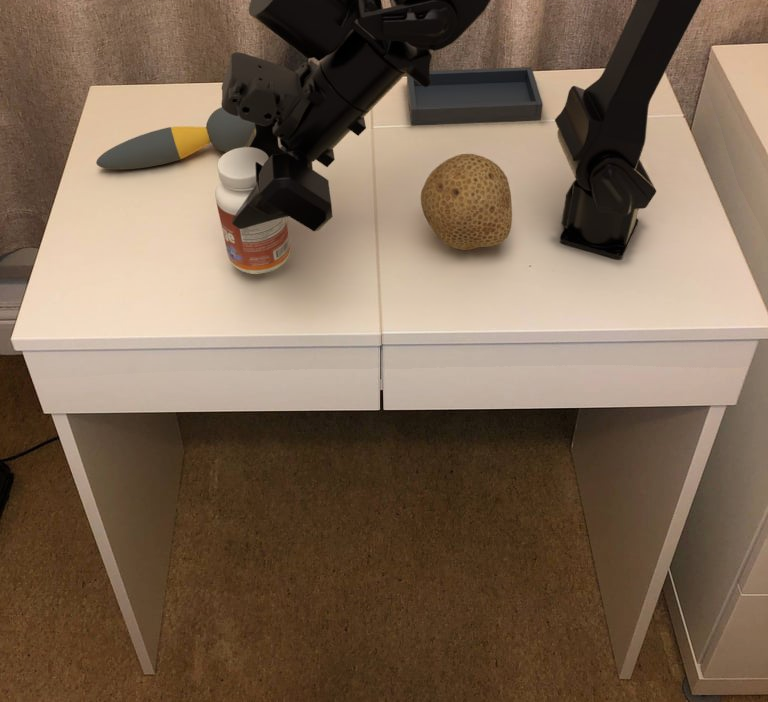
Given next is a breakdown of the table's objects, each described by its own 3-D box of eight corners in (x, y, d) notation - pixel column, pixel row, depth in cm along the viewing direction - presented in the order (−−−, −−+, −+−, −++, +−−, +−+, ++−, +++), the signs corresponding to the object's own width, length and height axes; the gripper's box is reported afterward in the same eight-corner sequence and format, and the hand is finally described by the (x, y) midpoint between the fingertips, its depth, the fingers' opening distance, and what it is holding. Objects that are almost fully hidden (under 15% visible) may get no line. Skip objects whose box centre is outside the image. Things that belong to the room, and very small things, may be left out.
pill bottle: (226, 239, 87) (206, 146, 79) (287, 230, 88) (273, 137, 80) (231, 280, 83) (210, 187, 75) (294, 271, 84) (281, 177, 76)
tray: (529, 82, 109) (531, 66, 107) (540, 120, 103) (542, 104, 101) (406, 87, 108) (406, 71, 107) (411, 125, 103) (411, 109, 101)
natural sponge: (423, 211, 92) (424, 130, 85) (507, 215, 91) (517, 133, 84) (417, 269, 86) (418, 187, 79) (507, 273, 85) (517, 191, 78)
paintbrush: (104, 191, 95) (92, 153, 92) (97, 166, 98) (85, 128, 95) (277, 150, 100) (273, 112, 96) (265, 128, 103) (260, 90, 99)
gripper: (266, -25, 75) (165, 100, 82) (274, 90, 62) (154, 225, 70) (361, 51, 81) (259, 161, 89) (386, 170, 69) (265, 286, 76)
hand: (235, 203), depth 81 cm, fingers closed on pill bottle, 6 cm apart
